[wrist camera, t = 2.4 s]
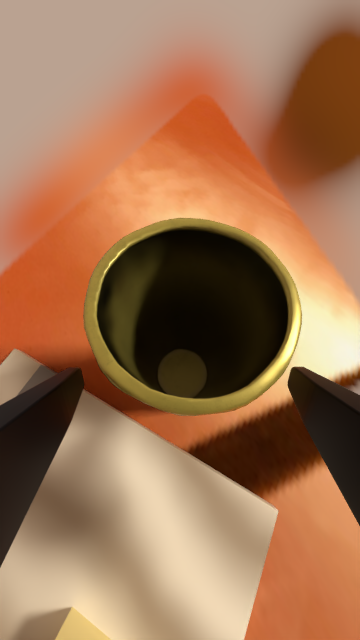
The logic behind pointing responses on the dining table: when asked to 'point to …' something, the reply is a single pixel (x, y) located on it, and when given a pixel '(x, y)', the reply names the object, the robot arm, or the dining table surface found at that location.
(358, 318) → the dining table surface
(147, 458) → the subfloor panel
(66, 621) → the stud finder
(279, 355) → the vase
